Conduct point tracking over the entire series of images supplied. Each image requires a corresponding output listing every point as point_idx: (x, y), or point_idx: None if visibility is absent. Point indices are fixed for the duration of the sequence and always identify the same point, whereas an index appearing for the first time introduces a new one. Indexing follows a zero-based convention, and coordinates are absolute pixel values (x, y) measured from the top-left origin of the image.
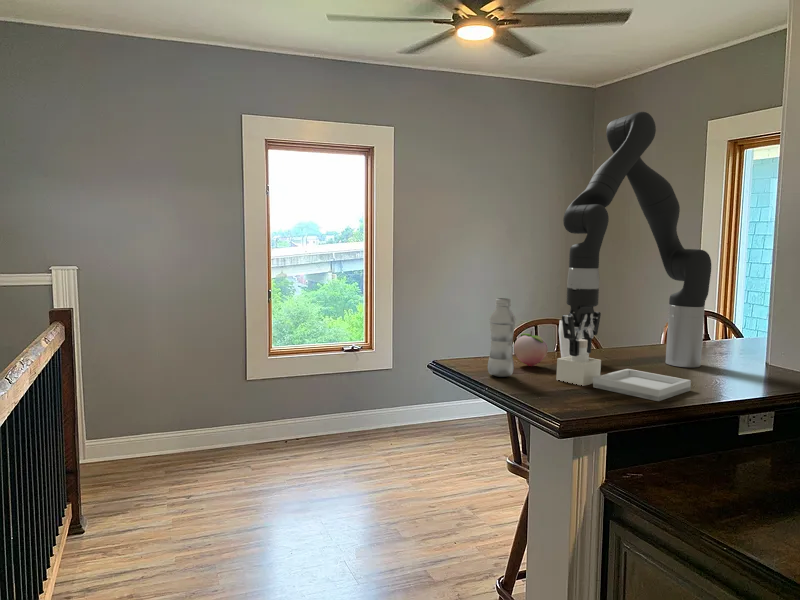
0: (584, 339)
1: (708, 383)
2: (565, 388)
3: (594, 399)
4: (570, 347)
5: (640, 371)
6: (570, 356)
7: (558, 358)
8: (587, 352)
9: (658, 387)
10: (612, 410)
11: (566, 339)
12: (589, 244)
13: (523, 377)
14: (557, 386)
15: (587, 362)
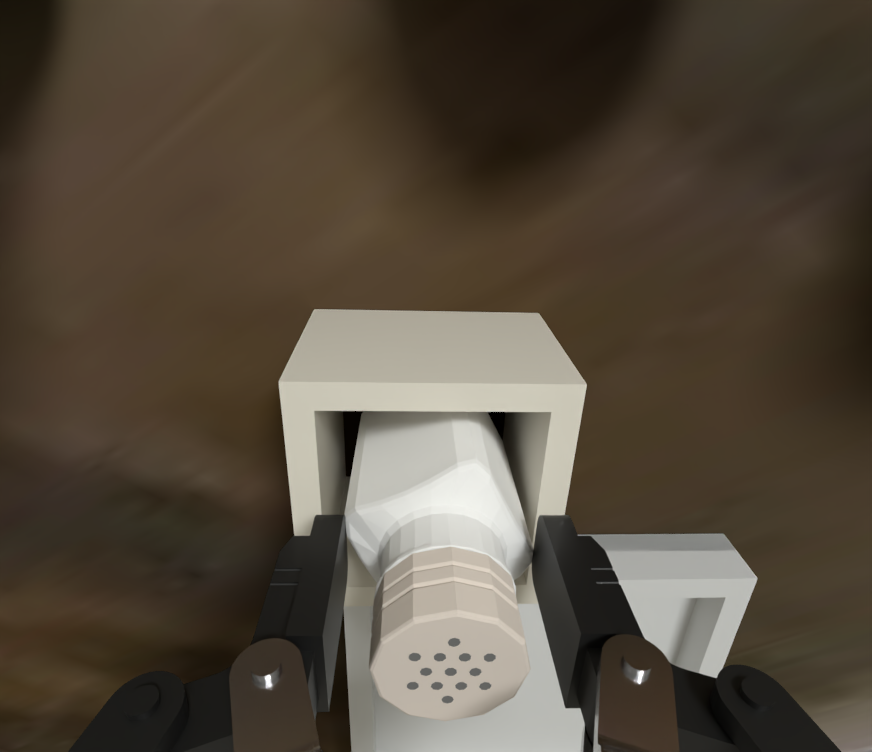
0: (517, 676)
1: (847, 744)
2: (177, 466)
3: (135, 645)
4: (269, 595)
5: (717, 646)
6: (489, 398)
7: (291, 387)
8: (535, 562)
9: (528, 732)
10: (63, 743)
11: None
12: None
13: (144, 64)
14: (170, 412)
15: (362, 600)
